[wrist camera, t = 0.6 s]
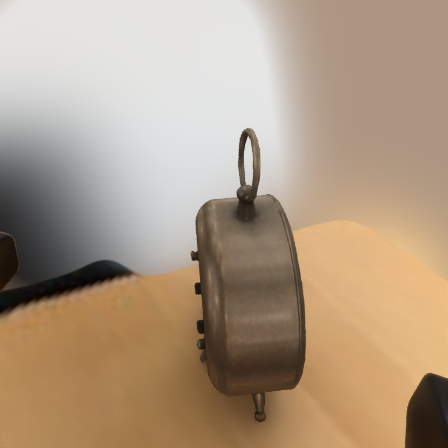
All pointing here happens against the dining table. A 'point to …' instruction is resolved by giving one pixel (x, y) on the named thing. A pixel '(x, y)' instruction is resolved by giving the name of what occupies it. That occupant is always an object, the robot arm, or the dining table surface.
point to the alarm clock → (249, 291)
